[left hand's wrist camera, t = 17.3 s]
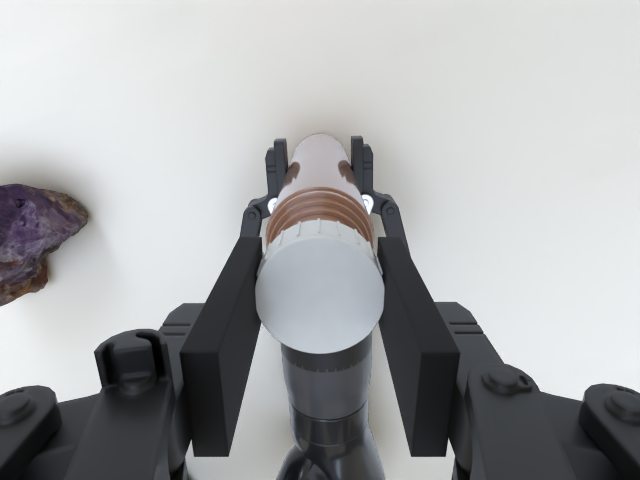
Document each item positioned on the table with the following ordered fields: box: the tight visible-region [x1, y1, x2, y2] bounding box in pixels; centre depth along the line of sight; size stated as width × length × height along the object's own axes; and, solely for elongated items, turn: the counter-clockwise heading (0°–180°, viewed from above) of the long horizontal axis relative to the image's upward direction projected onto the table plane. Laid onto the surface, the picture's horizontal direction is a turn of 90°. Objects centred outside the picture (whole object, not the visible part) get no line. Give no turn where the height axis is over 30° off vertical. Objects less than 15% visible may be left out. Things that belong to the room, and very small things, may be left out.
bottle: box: [266, 134, 374, 250], centre depth 25 cm, size 5×5×24 cm
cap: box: [255, 218, 385, 354], centre depth 14 cm, size 4×4×2 cm
